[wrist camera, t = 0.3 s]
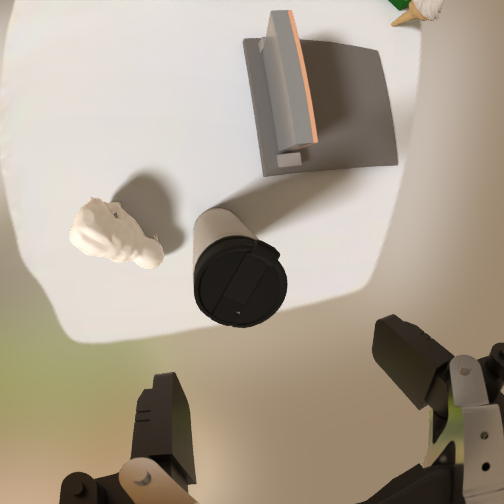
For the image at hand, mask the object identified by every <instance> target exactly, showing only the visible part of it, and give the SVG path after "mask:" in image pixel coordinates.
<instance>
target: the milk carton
mask: <svg viewBox="0 0 504 504" xmlns="http://www.w3.org/2000/svg"><path fill="white" fill-rule="evenodd" d="M389 1H390V2H391V3H392V4H393V5H394V6H395V7H396V8H397V9H398V10H402V9H404V8H407V7H409V3H410V2H411V1H412V0H389Z"/></svg>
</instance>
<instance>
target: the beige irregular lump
mask: <svg viewBox="0 0 504 504" xmlns="http://www.w3.org/2000/svg"><path fill="white" fill-rule="evenodd" d="M116 212H117V215H118V219H117V218H115V217H114V215H113V214H115V213H116ZM69 235H70V241H71V242H72V244H73V245H75V246H76V247H77V248H79V249H80V250H81V251H82V252H83V253H85V254H87V255H89V256H101V257H107V258H109V259H111V260H112V261H114V262H126V261H131V260H133V261H134V262H135V263H137V264H138V265H139V266H141V267H143V268H146V269H154V268H156V267H158V266H159V265H160V264H161V262H162V261H163V257H164V251H163V248H162V246H161V245H160V244H159V243H158V236H157V235H156V238H155V235H153V236H154V239H152V238H148V237H146V236H145V235H144V233H143V231H142V229H141V228H140V226H139V225H138V223H137V222H136V220H135V219H134V218H132V217H131V216H129V215H128V214H127V213H126V212H125V211H124V210H123V209H122V208H121V204H120V203H119V202H114V203H106V202H102V200H101V199H99V198H93V197H91V198H90V200H89V202H88V203H87V204H85V205H84V206H83V207H82V208H81V209H80V211H79V212H78V214H77V215H76V217H75V219H74V221H73V224H72V226H71V230H70V234H69ZM155 239H156V240H155Z"/></svg>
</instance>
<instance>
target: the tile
mask: <svg viewBox="0 0 504 504" xmlns="http://www.w3.org/2000/svg"><path fill="white" fill-rule="evenodd" d="M263 59H264V65H265V71H266V76H267V82H268V88H269V94H270V100H271V106H272V112H273V119H274V125H275V132H276V139H277V146H278V152H283V151H293V150H296V149H299V148H302V147H305V146H308V145H312V144H315V143H318V138H317V131H316V125H315V118H314V112H313V106H312V100H311V94H310V89H309V84H308V78H307V73H306V68H305V64H304V59H303V54H302V50H301V45H300V41H299V37H298V33H297V28H296V25H295V21H294V17H293V13H292V10H279V11H271V12H270V18H269V23H268V28H267V34H266V39H265V45H264V50H263Z"/></svg>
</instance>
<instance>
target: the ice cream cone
mask: <svg viewBox="0 0 504 504" xmlns="http://www.w3.org/2000/svg"><path fill="white" fill-rule="evenodd" d="M443 1H444V0H412V1H411V2H410V3H409V10H408V11H406V12H405V13H404V14H402V15H401V16H400V17H399V18H397V19H396V20H395V21H394V22H392V24H391V25H392V26H396V25H398V24H401V23H404V22H407V21H410V20H413V19H415V18H418V19H420V20H422V21H425V20H430V21H434V20H435V19H437V20H438V18H439V15H438V13H440V11H441V6H442V4H443Z"/></svg>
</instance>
